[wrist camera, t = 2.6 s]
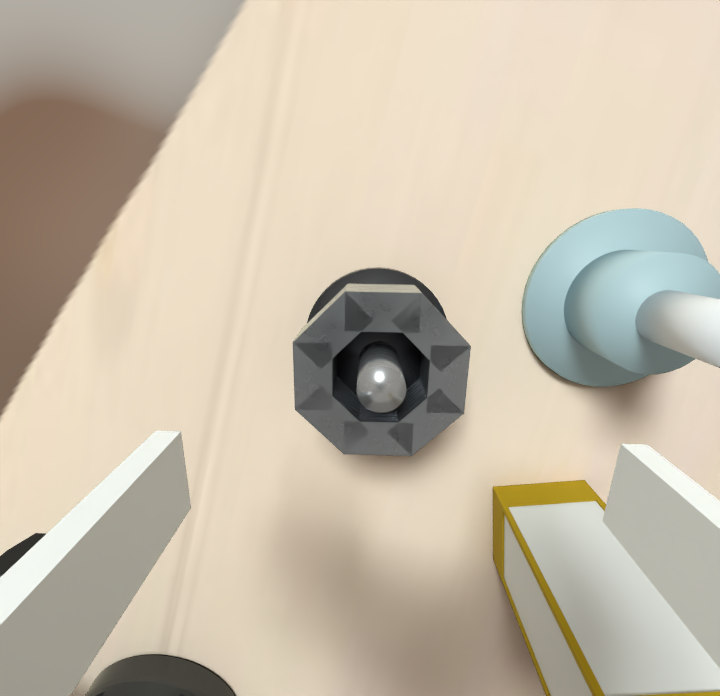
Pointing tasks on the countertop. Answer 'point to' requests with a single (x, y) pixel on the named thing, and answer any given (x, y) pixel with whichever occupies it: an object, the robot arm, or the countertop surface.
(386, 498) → the countertop surface
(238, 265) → the countertop surface
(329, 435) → the grey octagonal ring
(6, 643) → the robot arm
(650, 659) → the soap bottle
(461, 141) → the countertop surface
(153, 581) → the countertop surface
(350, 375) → the stand
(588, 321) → the peg
